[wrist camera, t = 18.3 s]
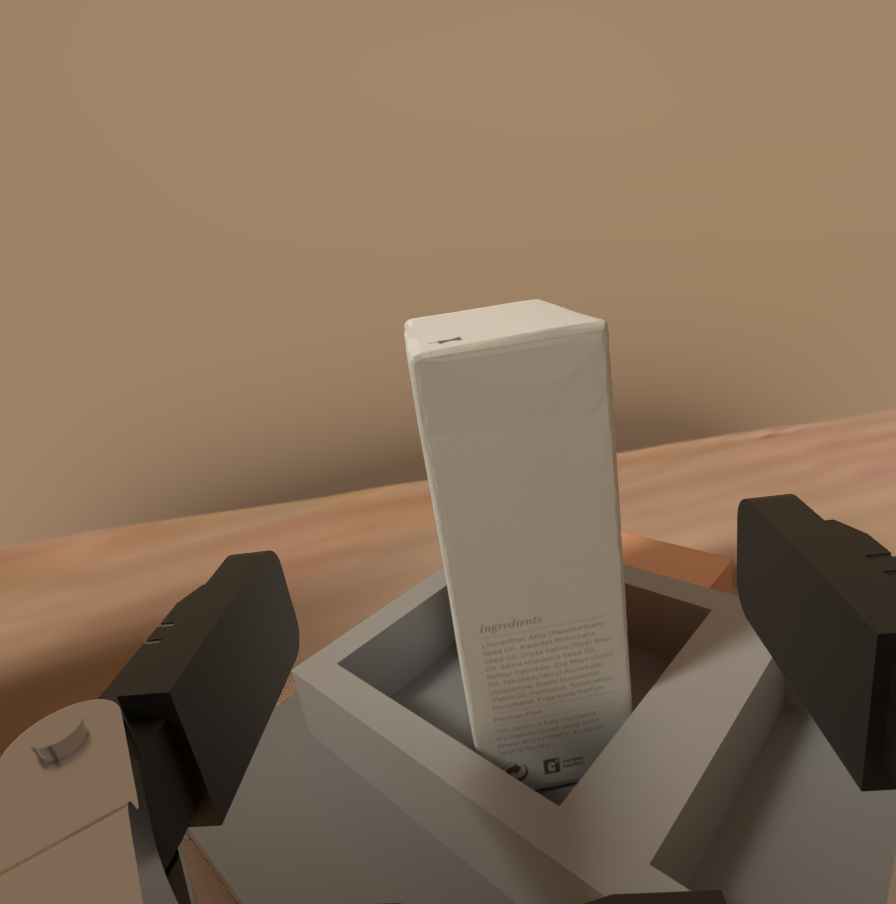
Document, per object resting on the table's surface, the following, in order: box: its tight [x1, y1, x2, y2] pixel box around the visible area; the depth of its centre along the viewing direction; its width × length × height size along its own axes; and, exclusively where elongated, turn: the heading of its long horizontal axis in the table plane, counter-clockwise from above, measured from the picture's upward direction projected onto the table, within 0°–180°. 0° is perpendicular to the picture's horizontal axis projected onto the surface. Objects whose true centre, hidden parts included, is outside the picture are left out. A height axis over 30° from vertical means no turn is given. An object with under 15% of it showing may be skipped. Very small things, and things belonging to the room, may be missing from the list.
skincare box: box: [404, 299, 632, 791], centre depth 17 cm, size 6×4×12 cm
